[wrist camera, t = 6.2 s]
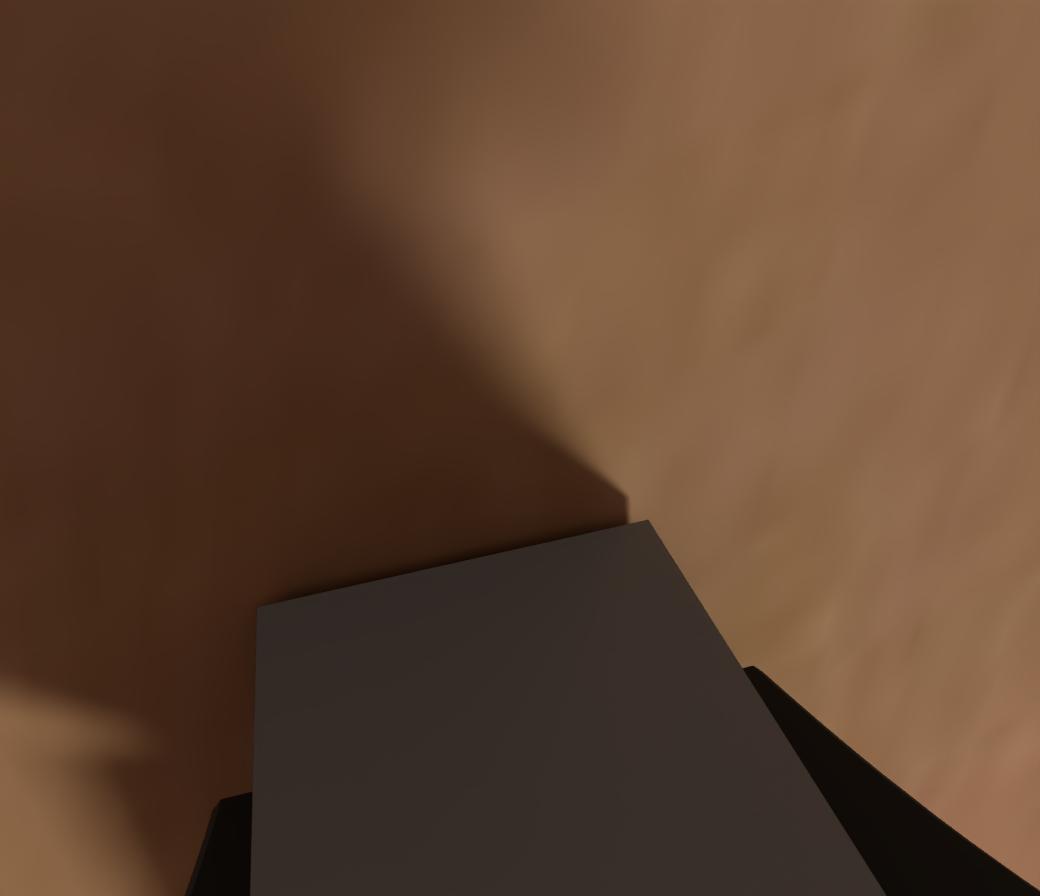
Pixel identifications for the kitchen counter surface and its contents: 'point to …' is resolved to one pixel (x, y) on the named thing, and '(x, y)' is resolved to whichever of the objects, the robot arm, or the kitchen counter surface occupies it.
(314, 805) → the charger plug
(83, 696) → the kitchen counter surface
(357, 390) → the kitchen counter surface
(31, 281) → the kitchen counter surface
